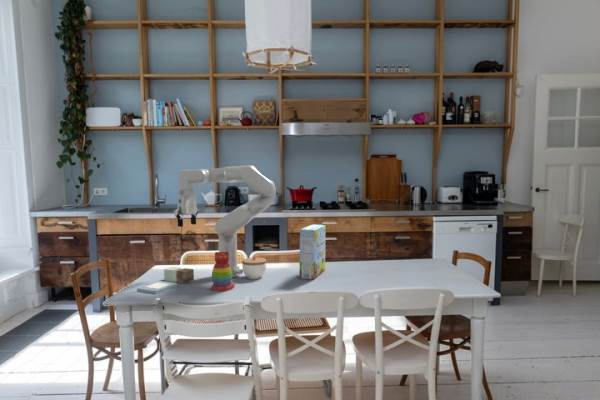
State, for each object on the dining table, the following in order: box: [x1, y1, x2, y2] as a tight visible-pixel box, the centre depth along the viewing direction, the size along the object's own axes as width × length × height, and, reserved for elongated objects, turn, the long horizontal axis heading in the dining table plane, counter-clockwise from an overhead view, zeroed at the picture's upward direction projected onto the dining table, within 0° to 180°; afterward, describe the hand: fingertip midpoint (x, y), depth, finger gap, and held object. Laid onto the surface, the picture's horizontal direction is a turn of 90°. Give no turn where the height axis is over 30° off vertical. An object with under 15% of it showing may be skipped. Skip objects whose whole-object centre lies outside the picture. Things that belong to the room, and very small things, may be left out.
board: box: [136, 280, 178, 295], centre depth 202 cm, size 12×14×1 cm
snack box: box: [298, 224, 327, 281], centre depth 224 cm, size 22×9×26 cm, turn 161°
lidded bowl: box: [241, 255, 267, 280], centre depth 220 cm, size 13×13×11 cm
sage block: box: [163, 266, 182, 283], centre depth 217 cm, size 6×6×6 cm
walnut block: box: [176, 267, 195, 284], centre depth 213 cm, size 6×6×6 cm
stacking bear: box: [211, 251, 236, 292], centre depth 200 cm, size 11×10×18 cm
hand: (187, 225), depth 223 cm, fingers open, 9 cm apart
